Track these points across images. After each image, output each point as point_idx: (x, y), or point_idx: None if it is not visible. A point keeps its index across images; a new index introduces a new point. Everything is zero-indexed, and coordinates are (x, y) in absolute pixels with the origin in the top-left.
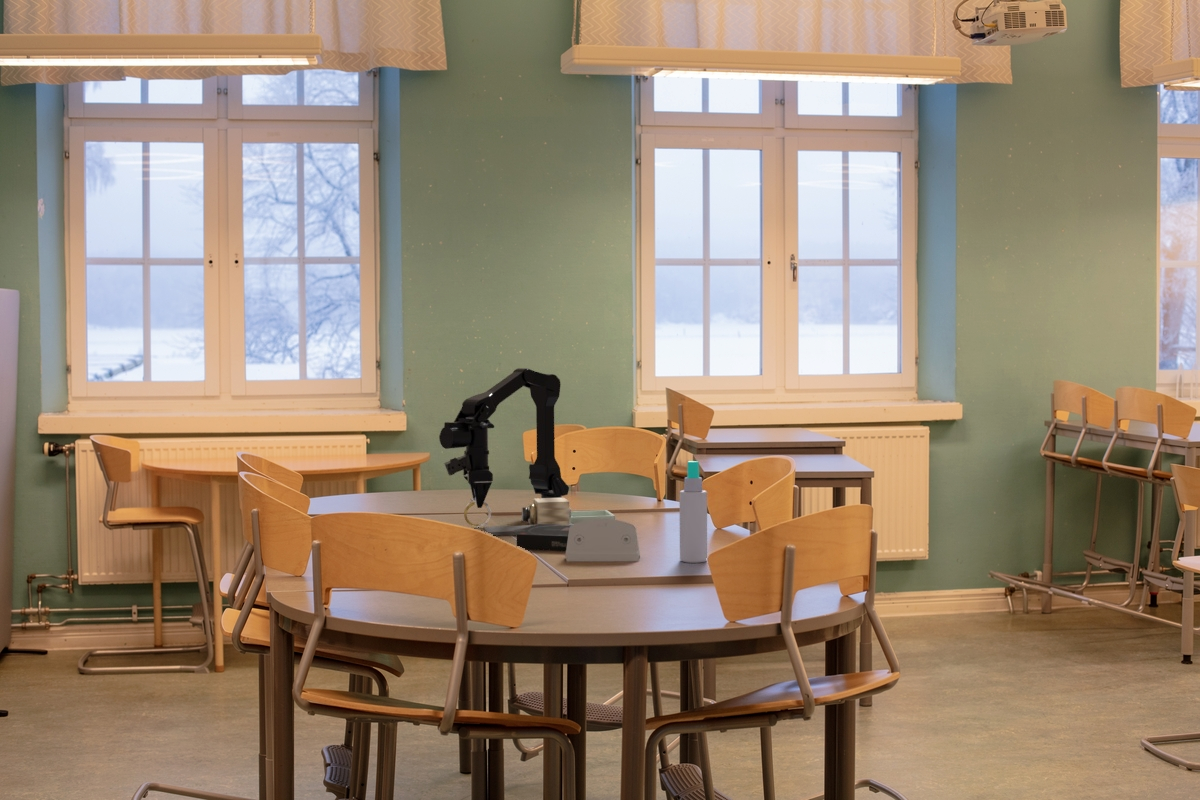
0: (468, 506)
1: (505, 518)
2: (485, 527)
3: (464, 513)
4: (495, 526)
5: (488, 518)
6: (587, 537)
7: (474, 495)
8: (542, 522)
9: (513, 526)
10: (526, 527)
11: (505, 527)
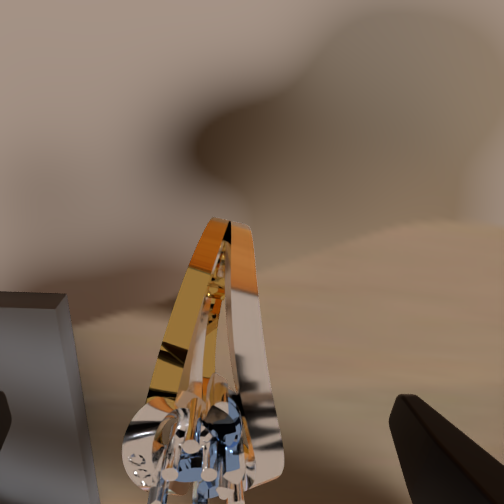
0: (177, 312)
1: (486, 436)
2: (20, 316)
3: (204, 231)
4: (64, 374)
5: (189, 379)
6: None
7: (446, 481)
8: None
9: (49, 452)
10: (4, 495)
11: (13, 416)
